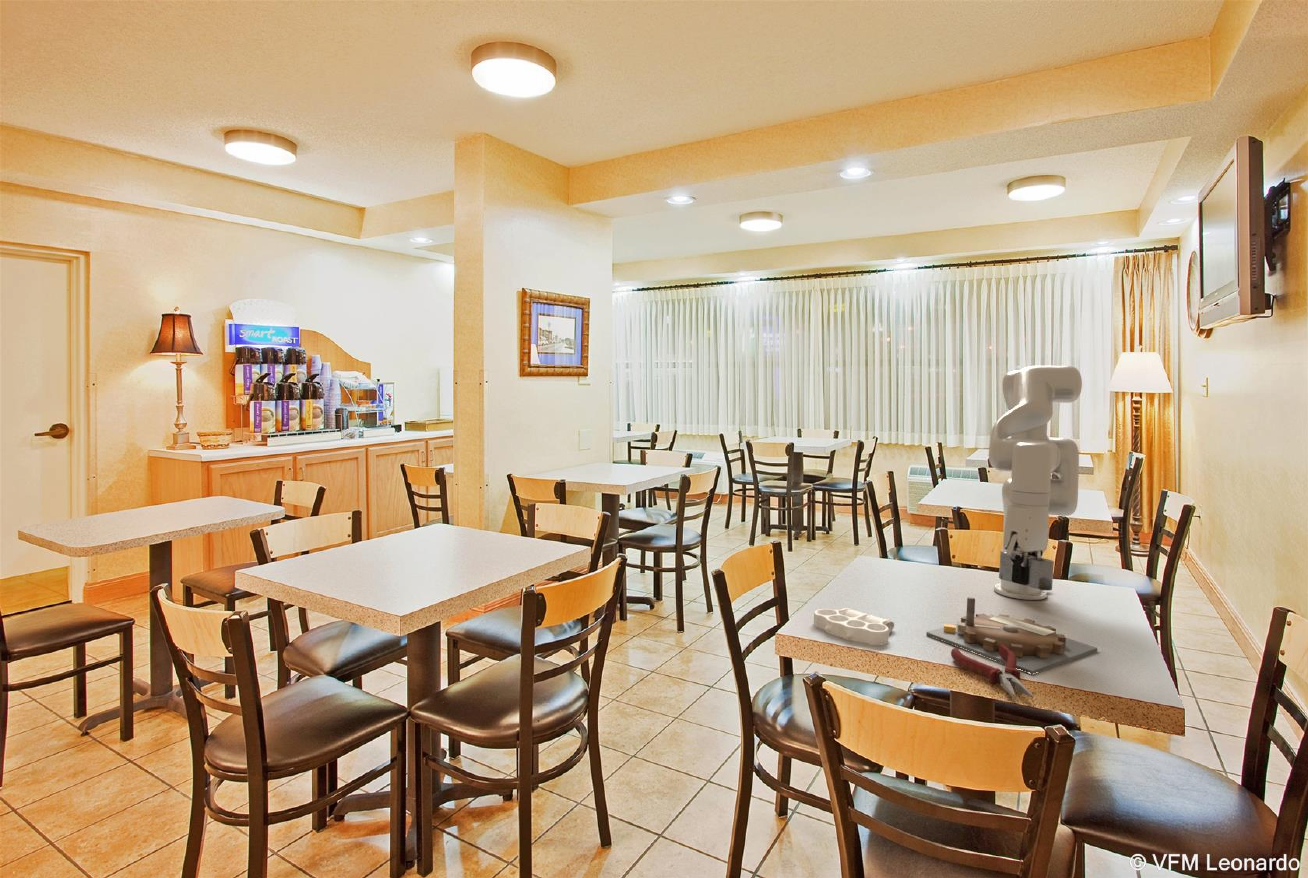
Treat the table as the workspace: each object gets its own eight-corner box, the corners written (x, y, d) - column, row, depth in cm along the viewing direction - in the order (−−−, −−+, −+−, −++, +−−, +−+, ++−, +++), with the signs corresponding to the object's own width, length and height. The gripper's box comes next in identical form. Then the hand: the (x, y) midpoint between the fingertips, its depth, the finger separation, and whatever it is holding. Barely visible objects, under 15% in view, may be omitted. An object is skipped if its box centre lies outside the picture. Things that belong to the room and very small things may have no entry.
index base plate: (991, 617, 166) (991, 609, 166) (1097, 651, 146) (1097, 642, 146) (926, 635, 154) (926, 626, 154) (1032, 675, 134) (1032, 665, 133)
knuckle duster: (907, 636, 155) (871, 652, 145) (837, 615, 168) (801, 629, 158) (907, 621, 154) (872, 636, 145) (838, 601, 168) (801, 614, 158)
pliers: (991, 706, 121) (990, 691, 121) (948, 658, 141) (948, 645, 141) (1058, 702, 121) (1058, 688, 120) (1006, 655, 141) (1005, 642, 140)
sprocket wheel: (954, 617, 163) (956, 584, 162) (1054, 629, 156) (1056, 594, 155) (961, 649, 144) (962, 611, 143) (1075, 664, 137) (1078, 624, 136)
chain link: (1004, 575, 157) (1006, 549, 156) (1055, 589, 147) (1057, 560, 147) (995, 577, 155) (997, 551, 155) (1046, 591, 145) (1048, 562, 145)
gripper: (1034, 494, 157) (1029, 573, 158) (990, 499, 149) (986, 583, 150) (1068, 499, 151) (1063, 581, 152) (1024, 504, 142) (1019, 592, 144)
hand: (1024, 581), depth 151 cm, fingers closed on chain link, 3 cm apart
